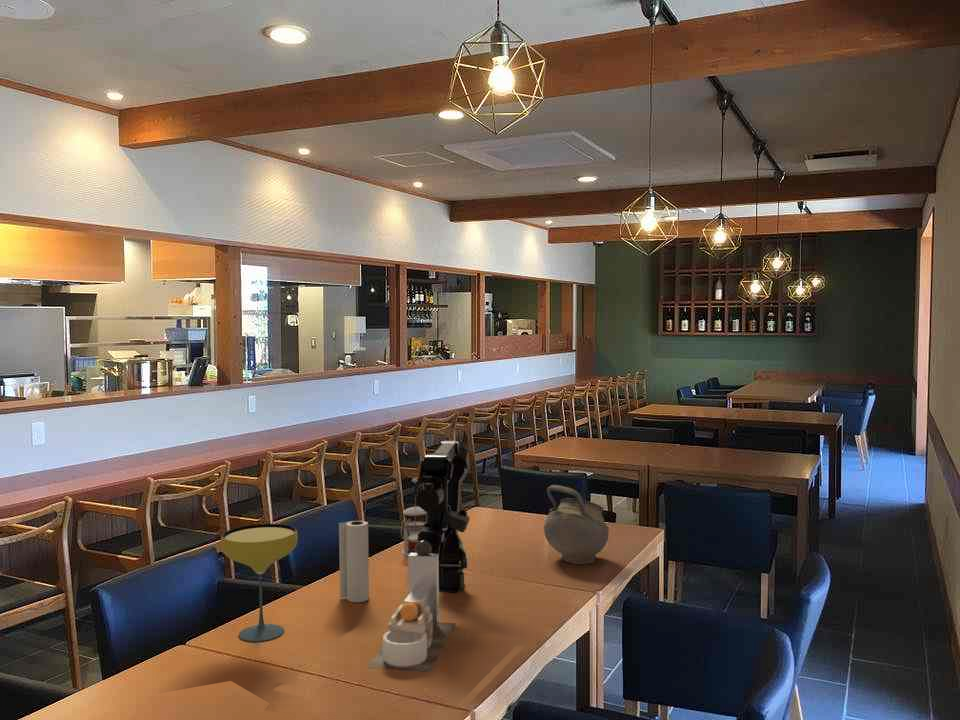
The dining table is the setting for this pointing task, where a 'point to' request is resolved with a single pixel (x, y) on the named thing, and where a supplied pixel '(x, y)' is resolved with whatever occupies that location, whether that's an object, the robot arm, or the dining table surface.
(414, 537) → the canned food
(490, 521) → the dining table surface
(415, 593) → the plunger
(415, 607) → the ball
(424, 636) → the cup
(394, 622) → the launcher
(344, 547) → the paper towel roll
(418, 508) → the french press
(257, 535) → the cocktail glass
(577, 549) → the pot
